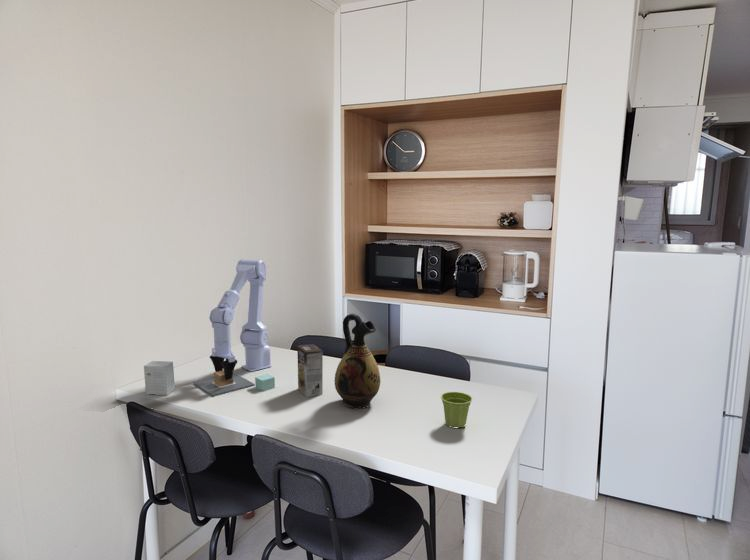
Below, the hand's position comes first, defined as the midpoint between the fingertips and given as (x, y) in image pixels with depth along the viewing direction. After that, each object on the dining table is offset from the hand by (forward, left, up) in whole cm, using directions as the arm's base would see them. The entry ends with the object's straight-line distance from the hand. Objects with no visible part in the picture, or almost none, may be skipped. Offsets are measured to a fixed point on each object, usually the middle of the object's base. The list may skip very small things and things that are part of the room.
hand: (223, 376), depth 182 cm
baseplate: (0, 0, -3) cm, 3 cm away
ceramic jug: (-26, +44, -3) cm, 51 cm away
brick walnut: (0, 0, -2) cm, 3 cm away
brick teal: (-10, +12, -3) cm, 16 cm away
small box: (+20, -8, -3) cm, 22 cm away
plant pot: (-38, +77, -3) cm, 86 cm away
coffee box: (-20, +26, -3) cm, 33 cm away
